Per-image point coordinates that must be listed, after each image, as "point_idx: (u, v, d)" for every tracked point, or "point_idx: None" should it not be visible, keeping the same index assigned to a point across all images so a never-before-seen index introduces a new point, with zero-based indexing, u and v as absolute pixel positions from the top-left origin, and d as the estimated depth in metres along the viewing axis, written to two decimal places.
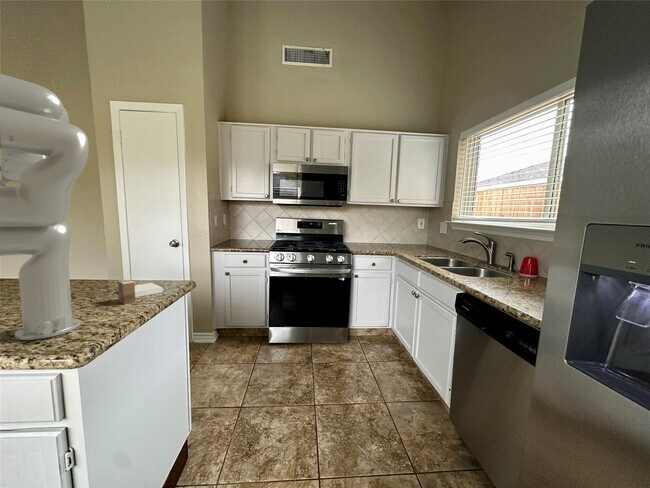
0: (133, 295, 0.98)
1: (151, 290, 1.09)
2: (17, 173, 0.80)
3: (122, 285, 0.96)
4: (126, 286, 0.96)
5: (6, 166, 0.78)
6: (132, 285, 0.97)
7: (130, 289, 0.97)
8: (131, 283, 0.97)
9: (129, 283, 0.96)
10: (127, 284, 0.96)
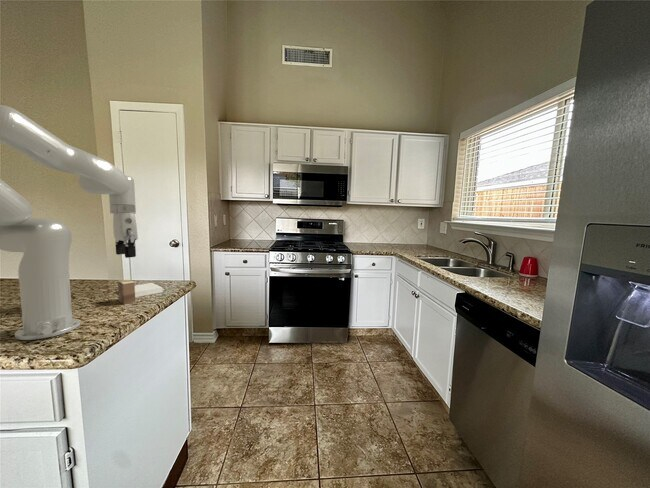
0: (133, 295, 0.98)
1: (151, 290, 1.09)
2: None
3: (122, 285, 0.96)
4: (126, 286, 0.96)
5: (136, 229, 0.96)
6: (132, 285, 0.97)
7: (130, 289, 0.97)
8: (131, 283, 0.97)
9: (129, 283, 0.96)
10: (127, 284, 0.96)
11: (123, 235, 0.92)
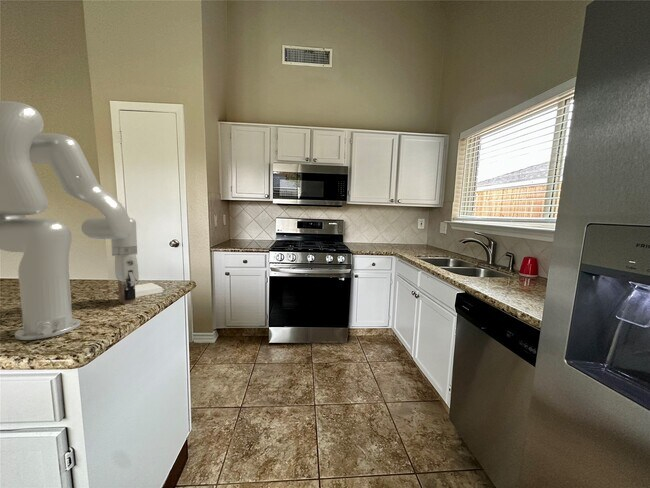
0: None
1: (151, 290, 1.09)
2: None
3: (122, 285, 0.96)
4: None
5: (137, 270, 0.97)
6: None
7: None
8: None
9: None
10: (127, 284, 0.96)
11: (124, 277, 0.94)
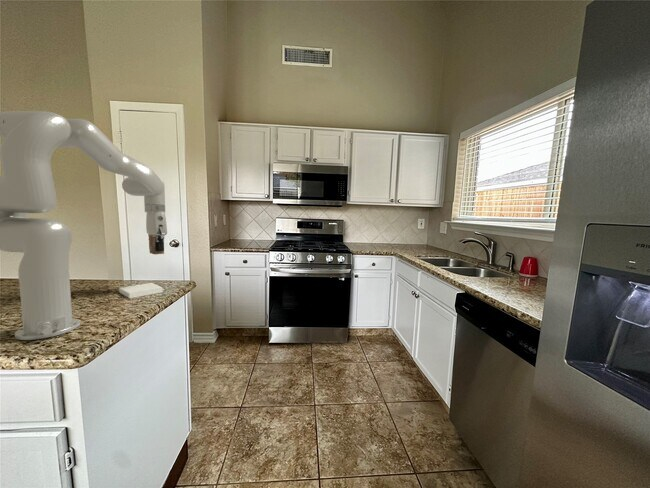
0: None
1: (151, 290, 1.09)
2: None
3: (153, 238, 1.11)
4: None
5: None
6: None
7: None
8: None
9: None
10: None
11: (156, 230, 1.09)
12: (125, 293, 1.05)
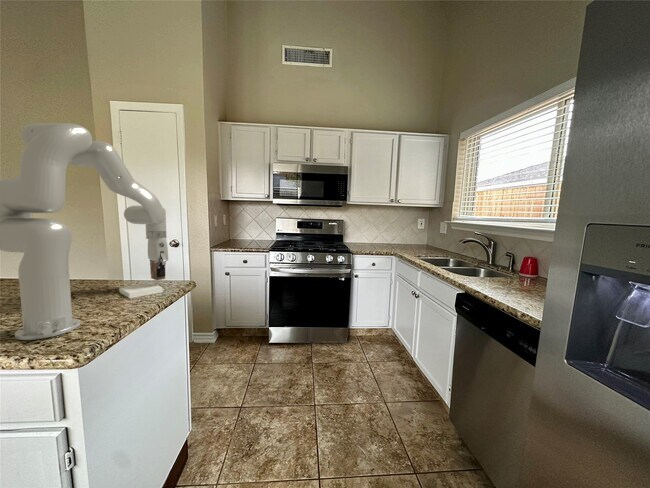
0: None
1: (151, 290, 1.09)
2: None
3: (155, 264, 1.13)
4: None
5: None
6: None
7: None
8: None
9: (160, 262, 1.14)
10: (159, 263, 1.13)
11: (157, 257, 1.11)
12: (125, 293, 1.05)
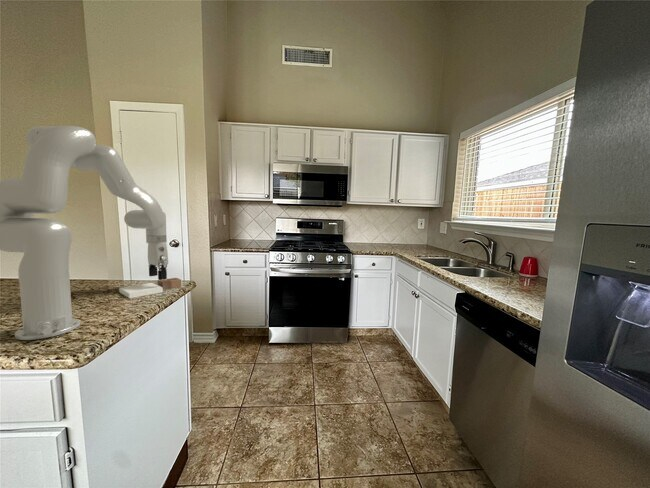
0: (170, 288, 1.17)
1: (151, 290, 1.09)
2: None
3: (178, 279, 1.21)
4: (178, 282, 1.20)
5: None
6: (179, 286, 1.21)
7: (175, 285, 1.19)
8: (180, 285, 1.21)
9: (181, 283, 1.21)
10: (180, 282, 1.21)
11: (157, 261, 1.11)
12: (125, 293, 1.05)
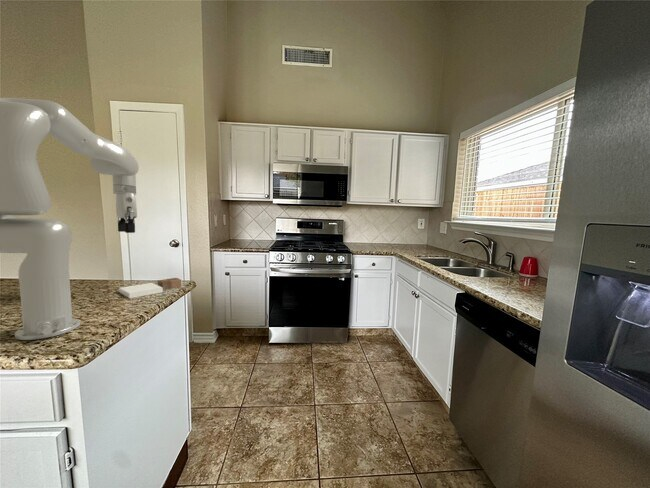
0: (170, 288, 1.17)
1: (151, 290, 1.09)
2: None
3: (178, 279, 1.21)
4: (178, 282, 1.20)
5: None
6: (179, 286, 1.21)
7: (175, 285, 1.19)
8: (180, 285, 1.21)
9: (181, 283, 1.21)
10: (180, 282, 1.21)
11: (124, 212, 1.03)
12: (125, 293, 1.05)
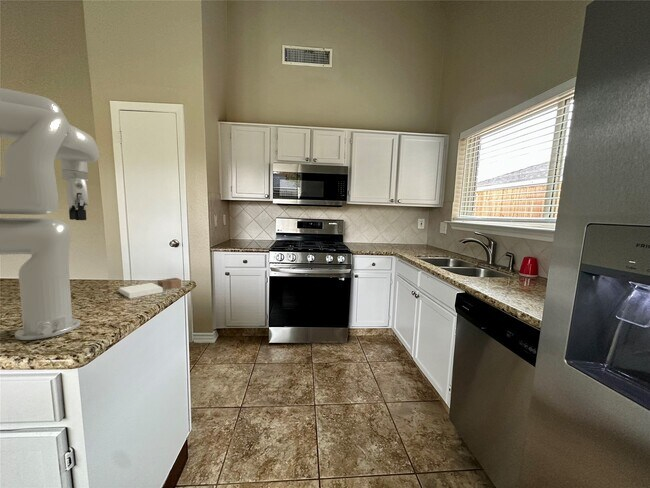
0: (170, 288, 1.17)
1: (151, 290, 1.09)
2: None
3: (178, 279, 1.21)
4: (179, 282, 1.20)
5: (87, 194, 1.03)
6: (179, 286, 1.21)
7: (175, 285, 1.19)
8: (180, 285, 1.21)
9: (181, 283, 1.21)
10: (180, 282, 1.21)
11: (73, 199, 0.99)
12: (125, 293, 1.05)
